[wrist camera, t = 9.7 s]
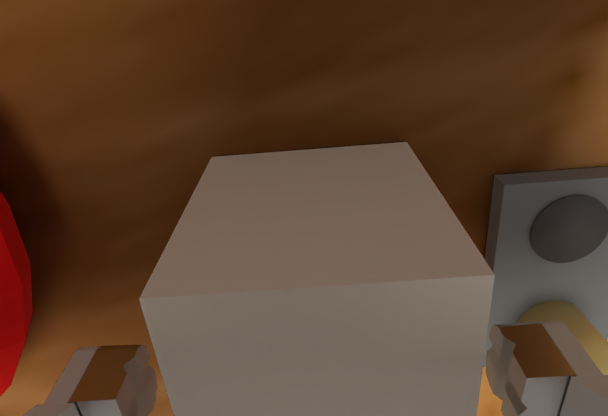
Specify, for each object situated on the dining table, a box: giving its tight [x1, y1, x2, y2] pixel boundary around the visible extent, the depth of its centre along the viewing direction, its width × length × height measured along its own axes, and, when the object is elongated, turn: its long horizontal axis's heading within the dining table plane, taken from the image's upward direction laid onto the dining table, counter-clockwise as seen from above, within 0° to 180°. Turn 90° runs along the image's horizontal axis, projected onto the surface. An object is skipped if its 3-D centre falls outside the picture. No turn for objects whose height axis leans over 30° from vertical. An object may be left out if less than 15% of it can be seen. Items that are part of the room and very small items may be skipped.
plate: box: [483, 167, 608, 375], centre depth 14 cm, size 7×4×4 cm, turn 5°
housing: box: [139, 142, 495, 416], centre depth 13 cm, size 9×6×7 cm, turn 5°
